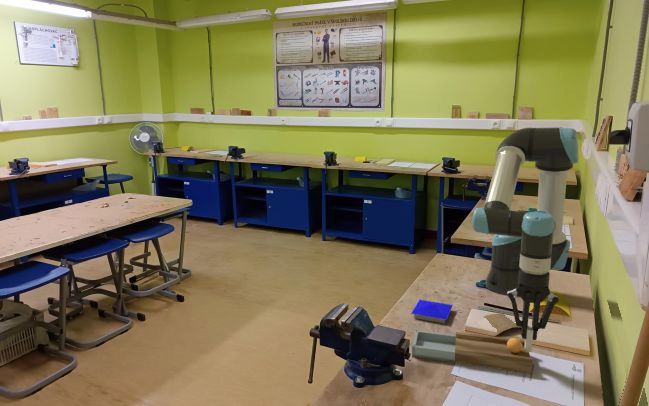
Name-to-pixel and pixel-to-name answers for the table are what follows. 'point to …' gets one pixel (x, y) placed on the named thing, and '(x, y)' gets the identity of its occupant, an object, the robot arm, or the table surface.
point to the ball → (514, 345)
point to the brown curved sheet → (500, 322)
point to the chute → (490, 353)
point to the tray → (434, 346)
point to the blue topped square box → (432, 311)
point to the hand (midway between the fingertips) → (527, 349)
